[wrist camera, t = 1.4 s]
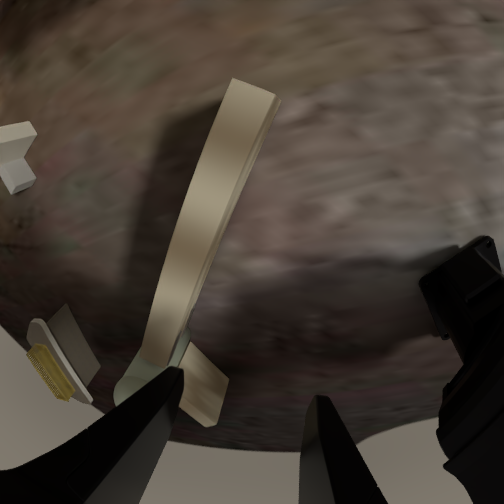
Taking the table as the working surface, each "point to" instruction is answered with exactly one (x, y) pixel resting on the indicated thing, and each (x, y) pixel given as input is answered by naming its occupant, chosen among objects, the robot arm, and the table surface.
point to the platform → (63, 355)
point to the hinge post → (145, 371)
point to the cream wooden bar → (207, 213)
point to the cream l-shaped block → (16, 156)
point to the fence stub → (202, 386)
